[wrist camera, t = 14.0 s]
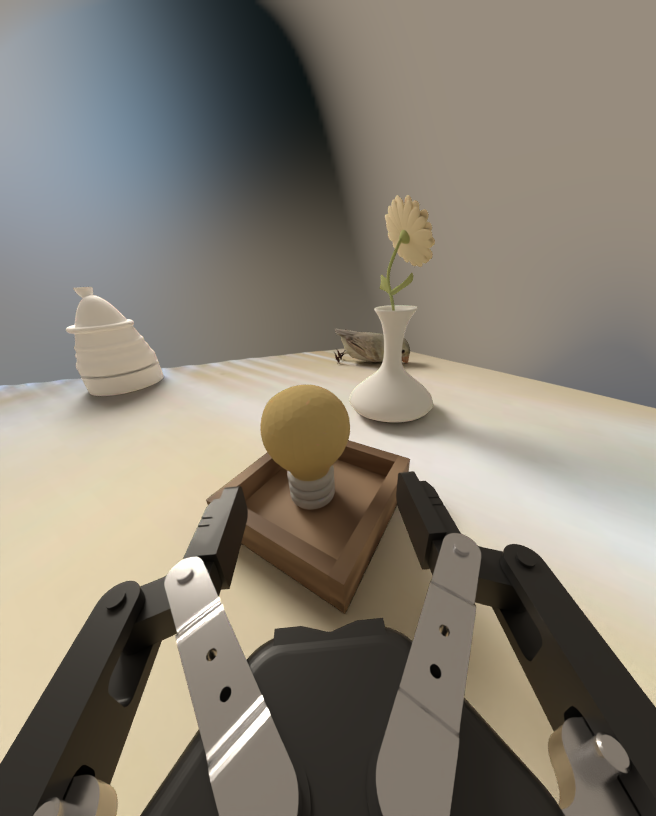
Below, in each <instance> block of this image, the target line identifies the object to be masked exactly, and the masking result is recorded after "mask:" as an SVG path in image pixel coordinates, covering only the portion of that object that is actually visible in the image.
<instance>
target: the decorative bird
mask: <svg viewBox="0 0 656 816" xmlns="http://www.w3.org/2000/svg"><path fill="white" fill-rule="evenodd" d="M335 332H336V334H337V335H340V336H341V341H342V343H343V345H344V348H345V351H344V352H343V353H339V351H338V356H339V357H337V355H336V353H335V352H334V353H335V358H336V360H337V361H338V362H339V361H340V360H342V356H343V355H344V354H347V353H348V354H349V355H350V356H351V357H353V358H356V359H359V360H363V361H369V362H382V361H383V358H384V335H383V334H378V333H368V332H366V333H365V332H361V333H359V332H354V331H350V330H346V329H345V330H342V329H335ZM338 333H339V334H338ZM341 354H342V355H341ZM409 354H410V347H409V344H408V342H407V341H406V339H403V345H402V358H401V359H402V361H403V362H405V363H408V360H409ZM339 358H340V360H339Z"/></svg>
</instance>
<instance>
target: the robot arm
mask: <svg viewBox="0 0 656 816" xmlns="http://www.w3.org/2000/svg"><path fill="white" fill-rule="evenodd" d="M396 500H397V505H398V508H399V511H400V513H401V516H402V518H403V521H404V524H405V526H406V529H407V531H408V534H409V537H410V539H411V542H412V544H413V547H414V550H415V552H416V555H417V557H418V560H419V562H420V565H421V568H422V569H430V570H431V572H432V575H433V577H432V580H431V582H430V585H429V588H428V591H427V595H426V598H425V602H424V605H423V608H422V612H421V615H420V619H419V622H418V625H417V629H416V632H415V636H414V639H413V641H411V640H410V639H409V638H408V637H406V636H405V635H403V634H402V633H400V632H398V631H396V630H393V629H391V628H387V627H385V625H384V621H383V618H377V619H367V620H357V621H355V622H352V623H350V624H348V625H345V626H343V627H341V628H339V629H336V630H334V631H332V632H326V631H321V630H317V629H312V628H308V627H303V626H298V627H288V628H278V629H275V632H274V639H271V640H269V641H268V642H266V643H264V644H263V645H262V646H260V647H259V648H258V649H256V650H255V651H254V652H253V653H252V654H251V655H250V656H249V658H248V659H247V660H246V658H245V656H244V654H243V651H242V649H241V647H240V645H239V642H238V640H237V638H236V635H235V633H234V631H233V629H232V626H231V624H230V622H229V620H228V617H227V615H226V613H225V610H224V608H223V606H222V604H221V601H220V599H219V594H220V591H221V590H222V589H230V585H231V581H232V577H233V573H234V569H235V565H236V562H237V558H238V554H239V550H240V546H241V542H242V538H243V534H244V531H245V527H246V523H247V518H248V509H247V504H246V501H245V497H244V493H243V490H242V487H241V486H237V487H226V488H224V490H223V492H222V495H221V497H220V499H214V500H213V501H212V502H211V503H210V504H209V505H208V506H207V507H206V509H205V511H204V513H203V516H202V519H201V520H200V522H199V524H198V528H197V529H196V531H195V533H194V536H193V538H192V540H191V542H190V544H189V547H188V549H187V551H186V553H185V555H184V558H183V560H181V561H180V562H178V563H177V564H176V565H174V566H173V567H172V569H171V570H170V571H169V572H168V574H167V575H166V576H165V577H163V578H160V579H158V580H156V581H153V582H151V583H148V584H145V585H143V586H139V584H138V583H137V582H135V581H126V582H123V583H120V584H118V585H116V586H114V587H113V588H111V589H110V590H109V591H108V592H106V593H105V594H104V595H103V596H102V597H101V599H100V600H99V601H98V603H97V604H96V606H95V607H94V609H93V611H92V612H91V614H90V616H89V617H88V619H87V621H86V622H85V624H84V626H83V627H82V629H81V631H80V632H79V634H78V636H77V637H76V639H75V641H74V642H73V644H72V646H71V647H70V649H69V651H68V652H67V654H66V656H65V657H64V659H63V661H62V662H61V664H60V666H59V667H58V669H57V671H56V672H55V674H54V676H53V677H52V679H51V681H50V682H49V684H48V686H47V687H46V689H45V691H44V692H43V694H42V696H41V697H40V699H39V701H38V702H37V704H36V706H35V707H34V709H33V711H32V712H31V714H30V716H29V717H28V719H27V721H26V722H25V724H24V726H23V727H22V729H21V731H20V732H19V734H18V735H17V737H16V739H15V740H14V742H13V744H12V745H11V747H10V749H9V750H8V752H7V754H6V755H5V757H4V759H3V760H2V762H1V764H0V816H116V815H117V808H118V799H117V794H116V791H115V789H114V788H113V787H112V786H111V785H110V783H111V780H112V777H113V775H114V772H115V769H116V766H117V764H118V761H119V758H120V755H121V752H122V750H123V747H124V744H125V741H126V739H127V736H128V733H129V730H130V728H131V725H132V722H133V719H134V716H135V714H136V711H137V708H138V705H139V703H140V700H141V697H142V694H143V691H144V689H145V686H146V683H147V680H148V678H149V675H150V672H151V669H152V666H153V664H154V661H155V658H156V655H157V653H158V650H159V647H160V644H161V641H162V640H164V639H166V638H168V637H171V636H173V635H175V634H177V635H176V643H177V647H178V650H179V654H180V658H181V662H182V666H183V669H184V673H185V677H186V681H187V685H188V688H189V692H190V696H191V700H192V704H193V707H194V711H195V715H196V719H197V723H198V726H199V730H198V731H197V733H196V734H195V736H194V737H193V739H192V740H191V742H190V743H189V744H188V746H187V747H186V749H185V750H184V752H183V753H182V755H181V756H180V758H179V759H178V761H177V762H176V764H175V765H174V767H173V768H172V769H171V771H170V772H169V774H168V775H167V777H166V778H165V780H164V781H163V783H162V784H161V786H160V787H159V789H158V790H157V792H156V793H155V794H154V796H153V797H152V799H151V800H150V802H149V803H148V805H147V806H146V808H145V809H144V811H143V812H142V814H141V815H140V816H656V707H655V706H654V705H653V703H652V702H651V701H650V699H649V698H648V697H647V696H646V694H645V693H644V692H643V690H642V689H641V688H640V686H639V685H638V684H637V682H636V681H635V680H634V678H633V677H632V676H631V674H630V673H629V672H628V671H627V669H626V668H625V667H624V665H623V664H622V663H621V661H620V660H619V659H618V657H617V656H616V655H615V653H614V652H613V651H612V650H611V648H610V647H609V646H608V644H607V643H606V642H605V640H604V639H603V638H602V636H601V635H600V634H599V632H598V631H597V630H596V629H595V627H594V626H593V625H592V623H591V622H590V621H589V619H588V618H587V617H586V615H585V614H584V613H583V611H582V610H581V609H580V608H579V606H578V605H577V604H576V602H575V601H574V600H573V598H572V597H571V596H570V594H569V593H568V592H567V590H566V589H565V588H564V587H563V585H562V584H561V583H560V581H559V580H558V579H557V577H556V576H555V575H554V573H553V572H552V571H551V569H550V568H549V567H548V566H547V564H546V563H545V562H544V560H543V559H542V558H541V557H540V556H539V555H538V554H537V553H535V552H534V551H533V550H531V549H529V548H527V547H525V546H522V545H518V544H510V545H508V546H506V547H505V548H504V551H503V552H502V551H497V550H493V549H488V548H483V547H480V546H478V545H477V544H476V543H475V542H474V541H473V540H472V539H470V538H469V537H467V536H465V535H463V534H461V533H460V531H459V529H458V528H457V526H456V524H455V523H454V521H453V519H452V518H451V516H450V514H449V513H448V511H447V509H446V507H445V506H444V505H443V502H442V501H441V499H440V498H439V496H438V494H437V492H436V491H435V489H434V488H433V487H432V486H431V485H430V484H429V483H427V482H426V481H419V479H418V478H417V476H416V474H415V472H413V471H412V472H400V473H398V480H397V490H396ZM475 602H476V603H480V604H483V605H487V606H491V607H492V608H493V610H494V612H495V614H496V616H497V618H498V620H499V622H500V624H501V626H502V628H503V630H504V632H505V634H506V636H507V638H508V640H509V642H510V644H511V646H512V648H513V650H514V652H515V654H516V656H517V658H518V660H519V662H520V664H521V666H522V668H523V670H524V672H525V674H526V676H527V678H528V680H529V682H530V684H531V686H532V688H533V690H534V692H535V694H536V696H537V698H538V700H539V702H540V704H541V706H542V708H543V710H544V712H545V714H546V716H547V718H548V720H549V722H550V725H551V727H552V729H553V731H554V732H553V733H552V734H551V736H550V738H549V742H548V751H549V757H550V761H551V764H552V766H553V769H554V772H555V775H556V778H557V781H558V786H559V795H560V800H559V805H558V804H557V802H556V801H555V799H554V798H553V797H552V795H551V794H550V793H549V791H548V790H547V789H546V788H545V786H544V785H543V784H542V783H541V782H540V780H539V779H538V778H537V777H536V776H535V775H534V774H533V773H532V772H531V771H530V769H529V768H528V767H527V766H526V765H525V764H524V763H523V762H522V761H521V760H520V758H519V757H518V756H517V755H516V754H515V753H514V752H513V751H512V750H511V748H510V747H509V746H508V745H507V744H506V743H505V742H504V741H503V740H502V739H501V737H500V736H499V735H498V734H497V733H496V732H495V731H494V730H493V729H492V728H491V726H490V725H489V724H488V723H487V722H486V721H485V720H484V719H483V718H482V717H481V715H480V714H479V713H478V712H477V711H476V710H475V709H474V708H473V707H472V706H471V704H470V703H469V702H468V701H467V700H466V699H465V698H464V693H465V686H466V678H467V671H468V664H469V657H470V649H471V642H472V635H473V628H474V620H475V613H476V605H475Z"/></svg>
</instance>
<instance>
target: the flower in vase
mask: <svg viewBox="0 0 656 816" xmlns="http://www.w3.org/2000/svg"><path fill="white" fill-rule="evenodd" d="M385 219H386V222H387V224H386V225H387V230H388V231H389V232H388V237H389V239H390V240H391V241H393V246H394V248H395V250H394V252H393V255H392V258H391V261H390V263H389V267H388V271H387V279H386V278H385V277H384V276H383V275H381V285H380V289H381V290H384V291H386V292H387V293H389V296H390V301H391V306H381V307H377V308H375V309H374V310H375V312H376V313H377V314H378V316H379V318H380V320H381V323H382V327H383V333H384V358H383V363H382V365H381V367H380V368H379V369H378V371H376V372H375V373H374V374H372V375H371V376H370V377H368V378H367V379H365V380H364V381H362V382H361V383H360V384H359V385H358V386H357V387H356V388H355V389H354V390H353V391H352V393H351V395H350V398H349V402H350V404H351V406H352V407H353V408H354V410H355V411H356V412H357V413H359V414H360V415H362V416H364V417H367V418H369V419H373V420H377V421H383V422H407V421H412V420H416V419H418V418H421V417H422V416H424V415H425V414H427V413H428V412H429V411H430V410H431V408H432V407H433V400H432V397H431V394H430V393H429V392H428V391H427V389H426V388H425V387H424V386H423V385H422V384H420V383H419V382H418V381H417V380H416V379H414V378H413V377H412V376H411V375H409V374H408V373H407V372H406V371H405V369H404V368H403V365H402V359H401V358H402V345H403V339H404V334H405V331H406V327H407V324H408V322H409V320H410V318H411V317H412V315H413V314H414V313H415V311H416V310H417V308H418V307H416V306H407V305H394V301H393V296H392V295H394V294H396V293H397V292H399V291H400V290H401V289H403V288H404V287H406V286H407V285H409V284H410V283H411V282H412V280H413V274H412V273H411V274H410V275H409V277H408V278H407V279H406V280H405V281H404V282H403V283H402V284H400V285H399V286H397V287H396V288H394V289H393V290H392V291H391V287H390V281H389V275H390V270H391V266H392V263H393V260H394V258H395V255H396V253H397V252H398V254H399V256H400V257H403V259H404V260H405V262H407V263H408V262H409V261H410V263H411V264H412V265H413V266H416V265H417V266H419V267H421V266H422V265H423V264H422V263H427V262H428V261H429V259H432V255H433V254H432V251H431V250H430V249H429V248H431V247H432V246H433V245H434V244H435V240H434V238H433V237H432V232H431V230H432V225H431V223H430V222H426V221H427V219H428V212H427V210H425V209H424V210H421V211H420V210H419V203H418V201H416V200H415V201H413V202H412V199H411V197H410V196H409V195H407V196H406V198H405V202H404V203H403V200H402V199H401V198H400V197H399V196H398V195H397V196H396V198H395V200H393V201H392V207H391V206H389V207H388V214H386V216H385Z"/></svg>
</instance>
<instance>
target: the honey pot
mask: <svg viewBox="0 0 656 816" xmlns="http://www.w3.org/2000/svg"><path fill="white" fill-rule="evenodd" d="M73 289H74V290H75V292H76V293H77V294H78V295H79V296H80V297H82V298H83V299H82V300H81V301H80V303H79V305H78V307H77V311H76V318H75V325H73V326H69V327H67V328H66V331H67V332H68V333H70V334H75V346H74V349H75V350H76V355H75V357H76V359H77V363H76V368H77V370H78V371H79V374H80V375H81V378H82V380H83V382H84V384H85V386H86V388H87V390H88V392H89V393H90V394H91V395H94V396H111V395H118V394H124V393H128V392H133V391H136V390H140V389H143V388H146V387H148V386H151V385H153V384H155V383H157V382H159V381H160V380H162V379H163V377H164V375H163V373H162V370H161V367H160V364H159V362H158V360H157V357H156V354H155V352H154V351H153V350H152V349H151V348H150V347H149V345H148V343H147V342H145V341H144V338H143V336H141V335H140V334H139V333H138V332H137V330H136V329H135V328H134V327H133V324H134V322H133V321H132V320H129V319H126V318H125V317H124V316H123V315H122V314H121V313H120V312H119V311H118V310H117V309H116V308H115V307H113V306H112V305H111V304H110V303H108V302H107V301H105V300H104V299H102V298H100V297H98V296H94V295H93V289H92V287H81V288H73Z"/></svg>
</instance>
